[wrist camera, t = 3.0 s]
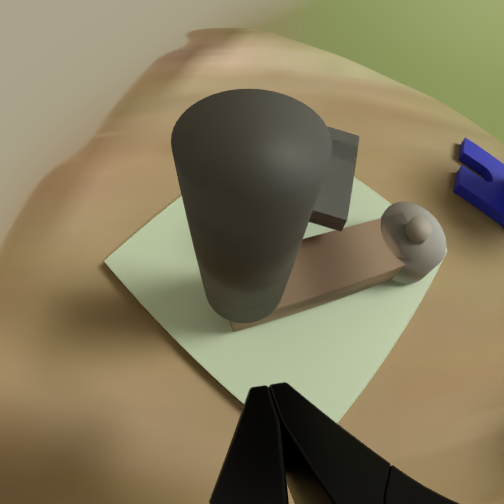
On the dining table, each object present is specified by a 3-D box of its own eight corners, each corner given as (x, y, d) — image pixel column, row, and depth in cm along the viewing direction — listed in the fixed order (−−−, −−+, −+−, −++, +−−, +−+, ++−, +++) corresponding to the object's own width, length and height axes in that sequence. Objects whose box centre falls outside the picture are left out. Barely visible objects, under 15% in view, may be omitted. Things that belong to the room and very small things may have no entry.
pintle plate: (306, 454, 14) (308, 456, 13) (107, 265, 18) (104, 261, 18) (443, 254, 20) (447, 250, 19) (275, 132, 24) (275, 126, 23)
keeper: (338, 188, 22) (359, 136, 17) (322, 267, 19) (346, 220, 14) (296, 176, 22) (309, 121, 17) (273, 252, 19) (284, 201, 15)
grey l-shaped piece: (410, 214, 20) (493, 84, 10) (441, 271, 18) (554, 156, 8) (198, 271, 17) (160, 95, 8) (221, 349, 15) (192, 233, 6)
